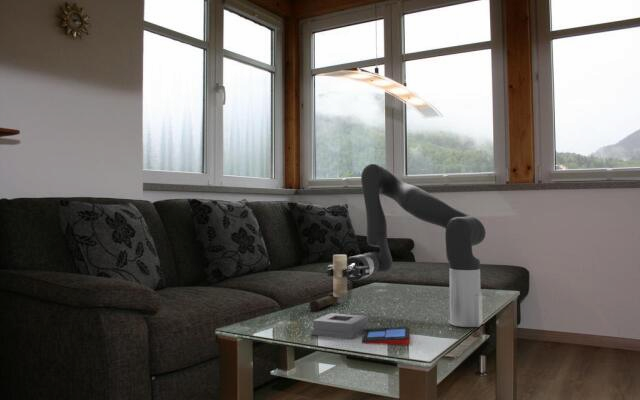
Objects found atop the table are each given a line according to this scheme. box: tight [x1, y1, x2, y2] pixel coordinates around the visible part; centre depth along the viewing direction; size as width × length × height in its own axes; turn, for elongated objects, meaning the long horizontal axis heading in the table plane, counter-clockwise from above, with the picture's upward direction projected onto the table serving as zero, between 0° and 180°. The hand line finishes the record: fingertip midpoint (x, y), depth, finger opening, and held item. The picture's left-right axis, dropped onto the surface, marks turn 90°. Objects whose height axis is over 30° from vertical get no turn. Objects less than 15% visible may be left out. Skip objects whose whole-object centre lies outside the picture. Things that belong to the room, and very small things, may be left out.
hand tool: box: [309, 292, 339, 312], centre depth 195 cm, size 19×4×5 cm, turn 149°
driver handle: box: [332, 254, 348, 298], centre depth 154 cm, size 4×4×12 cm
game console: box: [361, 326, 410, 346], centre depth 146 cm, size 14×13×2 cm
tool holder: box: [310, 312, 371, 340], centre depth 154 cm, size 13×13×4 cm
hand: (336, 273), depth 152 cm, fingers closed on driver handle, 4 cm apart
